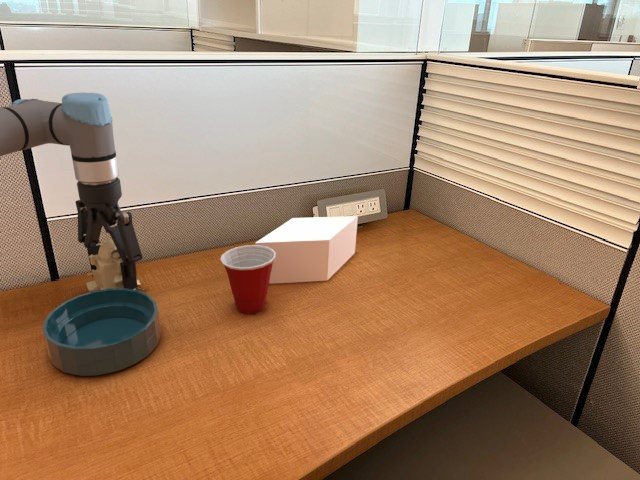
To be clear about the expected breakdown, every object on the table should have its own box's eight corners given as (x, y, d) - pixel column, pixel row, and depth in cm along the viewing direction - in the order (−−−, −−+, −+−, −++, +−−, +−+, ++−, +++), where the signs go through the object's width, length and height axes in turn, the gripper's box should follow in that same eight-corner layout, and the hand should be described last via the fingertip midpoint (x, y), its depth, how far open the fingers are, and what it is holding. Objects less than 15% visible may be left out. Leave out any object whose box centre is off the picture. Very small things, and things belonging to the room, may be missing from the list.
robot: (94, 308, 95) (81, 240, 89) (86, 290, 101) (73, 225, 95) (147, 294, 101) (138, 229, 94) (137, 278, 107) (128, 215, 100)
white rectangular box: (240, 271, 112) (238, 230, 107) (337, 242, 128) (339, 206, 123) (273, 299, 101) (273, 256, 97) (374, 264, 117) (378, 226, 113)
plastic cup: (245, 287, 105) (244, 237, 100) (286, 302, 100) (287, 251, 95) (211, 309, 97) (208, 257, 92) (254, 327, 92) (252, 273, 87)
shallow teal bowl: (27, 351, 83) (19, 323, 80) (117, 304, 97) (112, 278, 94) (94, 394, 74) (88, 363, 72) (181, 335, 89) (179, 308, 86)
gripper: (154, 185, 88) (165, 290, 98) (79, 163, 98) (96, 260, 108) (120, 197, 82) (135, 306, 92) (44, 172, 92) (65, 273, 102)
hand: (114, 281), depth 100 cm, fingers closed on robot, 9 cm apart
